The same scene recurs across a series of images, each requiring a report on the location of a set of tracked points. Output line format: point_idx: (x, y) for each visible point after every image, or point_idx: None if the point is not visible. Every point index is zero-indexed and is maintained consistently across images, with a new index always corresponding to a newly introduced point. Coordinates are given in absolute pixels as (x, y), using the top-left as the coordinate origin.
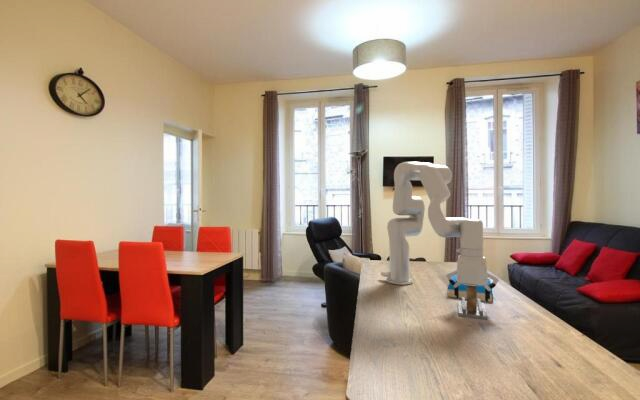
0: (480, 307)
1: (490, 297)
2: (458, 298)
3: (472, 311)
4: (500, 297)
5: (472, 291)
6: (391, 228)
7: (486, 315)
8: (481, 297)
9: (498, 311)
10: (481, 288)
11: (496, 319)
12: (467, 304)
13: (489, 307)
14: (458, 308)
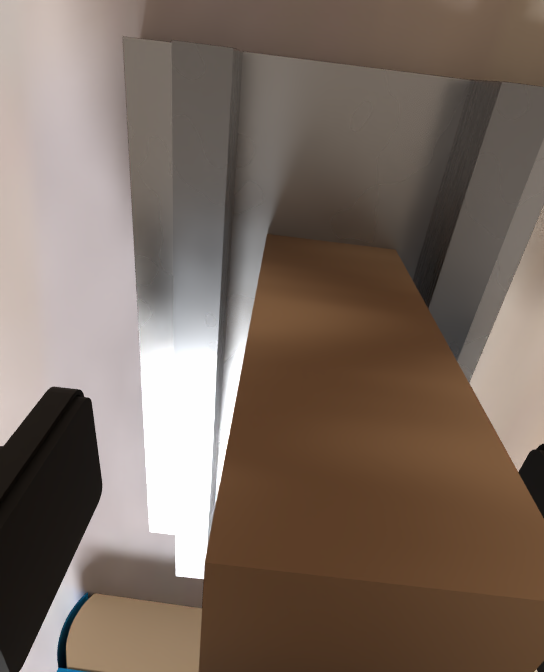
0: (199, 278)
1: (84, 631)
2: (533, 450)
3: (325, 234)
4: (31, 659)
5: (359, 484)
6: None
7: (137, 90)
8: (162, 631)
9: (19, 392)
10: None
11: (16, 86)
12: (414, 291)
13: (107, 476)
14: (496, 316)
